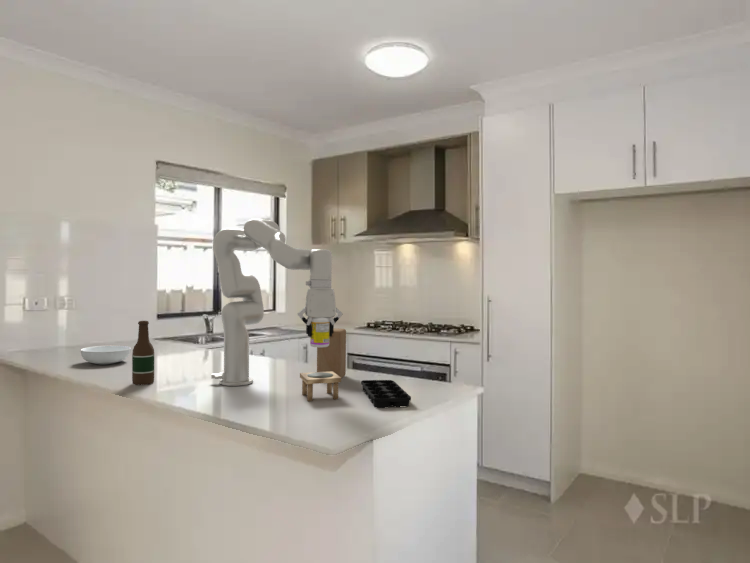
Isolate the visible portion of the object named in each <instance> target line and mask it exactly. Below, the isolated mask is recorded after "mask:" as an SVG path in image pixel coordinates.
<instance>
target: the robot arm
mask: <svg viewBox="0 0 750 563" xmlns="http://www.w3.org/2000/svg"><path fill="white" fill-rule="evenodd" d="M279 226H280V225H278V224H277V222H275V221H273V220H270V219H264V218H263V219H262V218H251V219H248V220H247V221H246V222H244V225H243V228H239V227H238V228H235V227H226V228H222V229H221V230H219V231H218V232H217V233H216V234H215V236H214V238H213V244H212V245H213V246H212V248H213V249H212V250H213V253H214V257H215V260H216V264H217V268H218V276H219V282H220V287H221V293H222V295H223V296H224V297H225V298H227V299H242V300H239V301H231V302H228V303H226V304H225V305H223V307H222V309H221V313H220V315H221V316H220V317H221V323H222V326H223V327H222V328H223V370H222V372H219V373H215V372H214V373H211V374H210V376H211V379H215V380H219V379H220V380H219V384H220V385H222V386H225V387H226V386H229V387H238V386H239V387H240V386H247V385H251V384H253V382H254V379H253V378H252V377H250V335H249V332H248V330H247V328H246V326H250V325H257V324H259V323H260V322H261V321H262V320H263V318H264V314H265V309H264V304H263V297H262V290H261V286H260V285H261V284H260V282H259V280H258V279H257V278H256V276H254V275H253V274H250V273H248V274H246V273H243V272H242V267H241V262H240V259H239V257H238V256H237V255H236V254H235V252H234V251H242V252H245V251H246V252H252V251H256V250H258V249H261V248H263V249H264V250H265V251H267V252H268V253H269V255H270V258H271V259H272V260H273V261H275V263H277V264H279V265H280V266H282V267H284V268H286V269H287V270H291V271H300V270H301V271H309V280H308V281H305V285H306V286H308V287H309V288H307V292H306V299H305V305H304V307H303V308H302V309H301V310H299V312H297V314H296V315H297V316H298V317H299V318H300V320H301V321H303V323H304V324H305V329H306V330H305V332H306V335H307V336H308V337H309V338H310V337H311V335H312V326H311V321H312V319H313V318H321V317H323V318H329V319H330V330H329V336H332V334H333V333H334V328H335V324H336V323H337V322H338V321H339V319H340V318H341V317H342V316H343V312H342V311H341V310H339V309H338V307H337V306H336V295H335V290H334V288H332V282H333V281H332V277H333V276H332V274H333V273H332V272H333V271H332V270H333V267H332V266H333V255H332V254H333V252H332V251H331V250H329V249H324V248H321V249H320V248H317V249H315V248H314V249H309V248H297V247H291V246H290V245H288V244H287V243H286V235H285V234H284V233H283V232H282V231H280V229H281V228H280V227H279ZM304 315H305V316H304ZM306 317H307V318H306Z"/></svg>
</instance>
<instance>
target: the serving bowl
mask: <svg viewBox="0 0 750 563" xmlns="http://www.w3.org/2000/svg"><path fill="white" fill-rule="evenodd" d="M131 350H132V348H131V347H130V346H127V345H126V346H125V345H124V346H123V345H96V346H88V347H83V348H81V349H80V351H79V352H80V356H81V357H82V359H83V360H85V361H86V362H87V363H92V364H95V365H100V366H101V365H114V364H116V363H119V362H122V361H125V360H126V359H127V358H129V356H130V354H131Z"/></svg>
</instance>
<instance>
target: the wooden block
mask: <svg viewBox="0 0 750 563" xmlns="http://www.w3.org/2000/svg"><path fill="white" fill-rule="evenodd" d="M346 330H347V329H345V328H337V327H334V333H333V334H332V336H329V346H328V347H316V372H330V371H333V372H334V373H335V374H337V375H338V376H340V377H341V379H343V378H344V377H345V376H346V375H347V374H346V371H347V370H346V368H347V366H346V365H347V364H346V363H347V362H346V361H347V345H346V344H347V331H346Z"/></svg>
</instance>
